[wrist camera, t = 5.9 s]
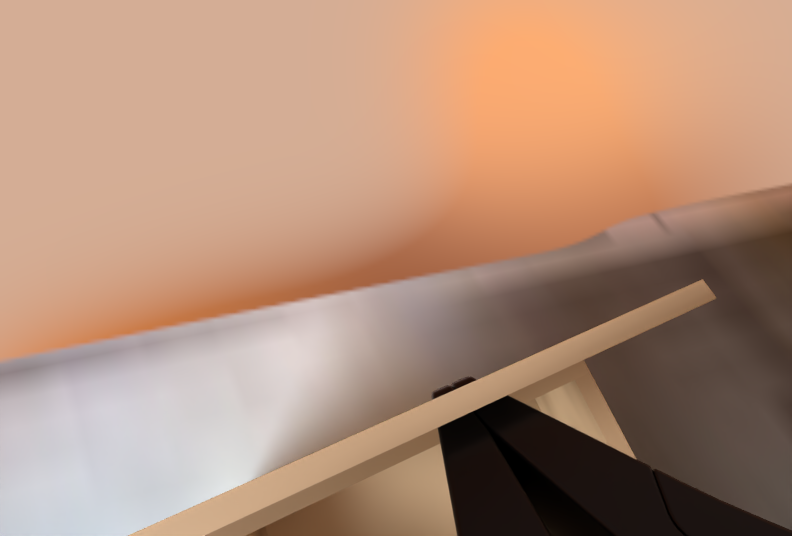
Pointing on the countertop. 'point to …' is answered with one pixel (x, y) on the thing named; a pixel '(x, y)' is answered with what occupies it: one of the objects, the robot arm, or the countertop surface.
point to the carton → (419, 475)
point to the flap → (423, 418)
